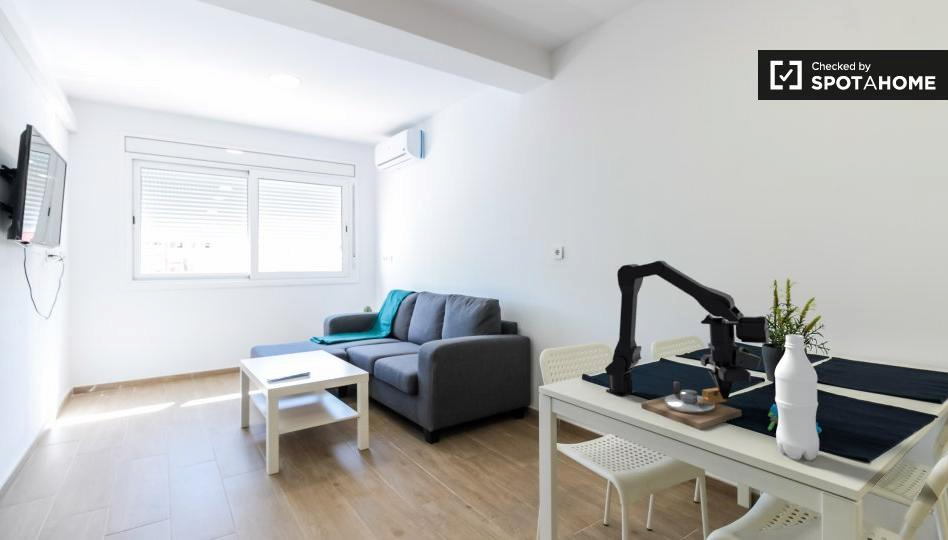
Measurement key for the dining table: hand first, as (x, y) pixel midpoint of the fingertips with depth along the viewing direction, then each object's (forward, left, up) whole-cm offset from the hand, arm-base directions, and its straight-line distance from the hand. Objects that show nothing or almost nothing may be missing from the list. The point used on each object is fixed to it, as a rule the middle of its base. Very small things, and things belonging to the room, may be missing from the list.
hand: (725, 399), depth 118 cm
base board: (-4, -8, -3) cm, 10 cm away
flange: (-4, -6, -1) cm, 7 cm away
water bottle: (+24, -11, -3) cm, 26 cm away
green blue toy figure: (+17, -2, -3) cm, 18 cm away
